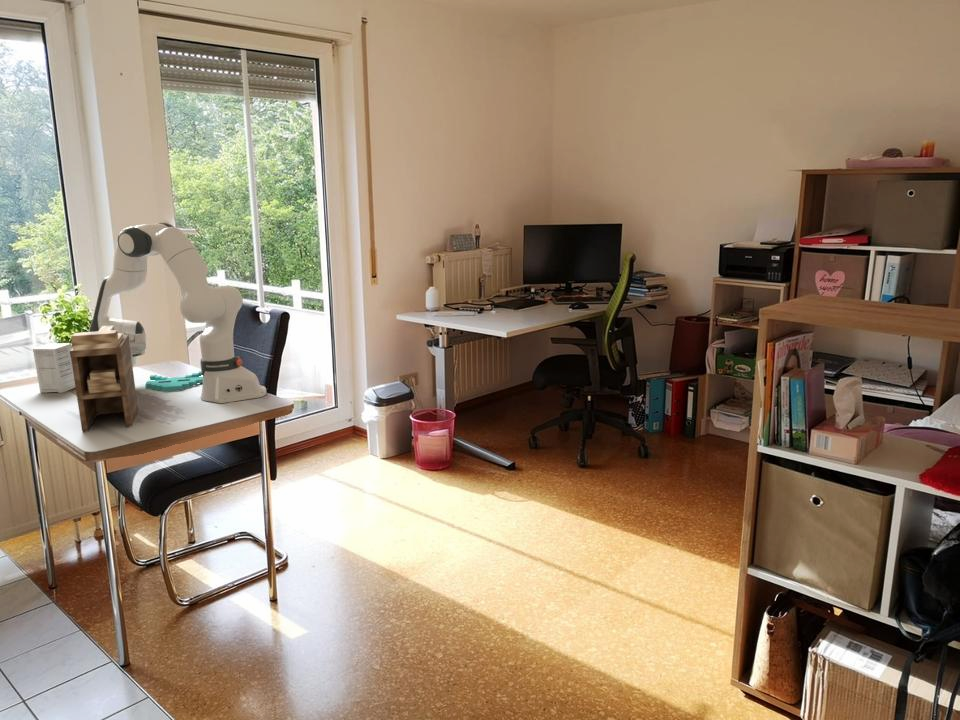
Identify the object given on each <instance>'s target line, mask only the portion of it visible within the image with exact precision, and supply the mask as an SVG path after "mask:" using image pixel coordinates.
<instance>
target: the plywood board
mask: <svg viewBox="0 0 960 720" xmlns="http://www.w3.org/2000/svg"><path fill="white" fill-rule="evenodd" d="M70 337H71V345H72V348H73V351H76V350H89V349H102V348H115V347H118V345H119V343H120V342H121V340H122V339H123V333H119V334H118V332H117V330H114V325H113V326H102V327H101V328H100V330H99V331H95V332H89V331H81V332H74V333H73V334H71V336H70Z"/></svg>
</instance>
